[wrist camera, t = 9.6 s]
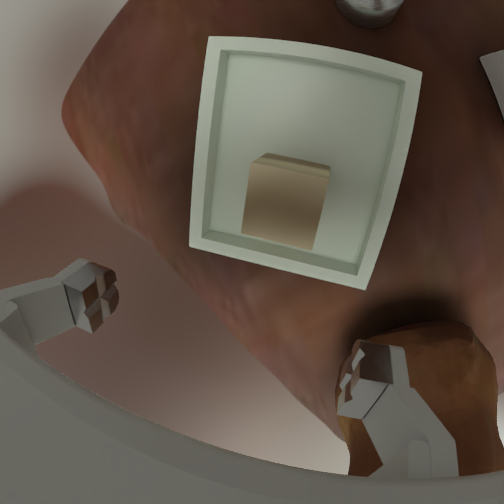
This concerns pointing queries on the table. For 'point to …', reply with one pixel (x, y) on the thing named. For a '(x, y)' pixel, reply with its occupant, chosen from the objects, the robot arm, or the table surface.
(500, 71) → the milk carton
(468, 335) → the butternut squash
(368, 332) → the table surface
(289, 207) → the beech block
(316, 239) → the tray
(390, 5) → the grey rounded cylinder
